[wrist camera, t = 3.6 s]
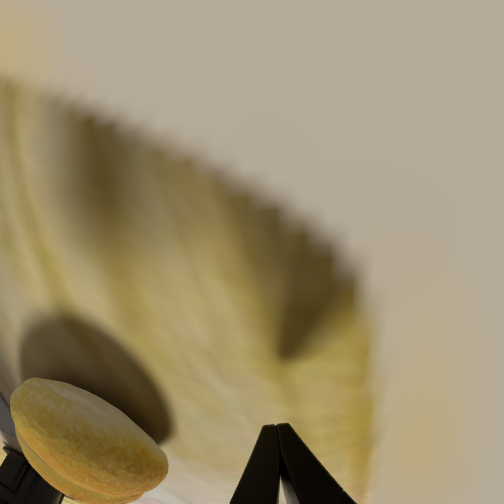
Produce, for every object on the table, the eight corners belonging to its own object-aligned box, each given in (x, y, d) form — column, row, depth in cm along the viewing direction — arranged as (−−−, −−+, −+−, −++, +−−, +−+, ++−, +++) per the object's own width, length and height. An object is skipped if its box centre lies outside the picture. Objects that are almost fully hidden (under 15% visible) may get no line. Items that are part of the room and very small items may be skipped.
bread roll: (194, 433, 10) (184, 513, 6) (136, 481, 12) (125, 528, 8) (24, 331, 8) (-29, 389, 4) (24, 417, 10) (0, 458, 6)
